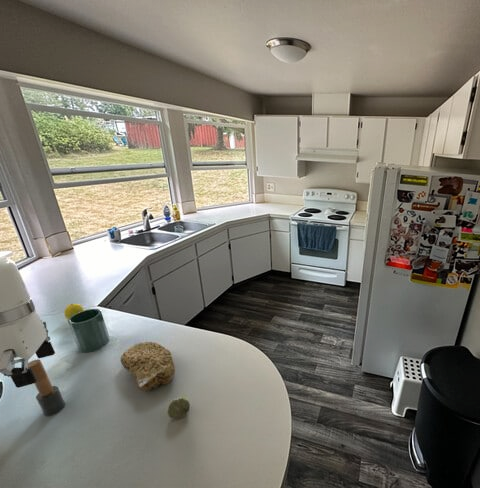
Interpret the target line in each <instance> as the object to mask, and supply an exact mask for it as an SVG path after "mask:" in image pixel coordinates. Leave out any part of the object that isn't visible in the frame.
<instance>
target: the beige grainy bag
mask: <svg viewBox="0 0 480 488" xmlns="http://www.w3.org/2000/svg"><path fill="white" fill-rule="evenodd" d="M120 363H121V366H122V367H123V368H124V369H125V370H126V371H127V372H129V373H130V374H131V375H133V377H135V382H136V386H137V388H139V390H140V391H146V392H147V391H150V390H151V389H155V388H157V387H160V385H165V384H166V385H167V384H170V383H171V381H172V380H173V377H174V375H175V373H176V365H175V363H174V359H173V356H172V353H171V350H169V349H167V348H165V346H163V345H161V344H160V343H158V342H153V341H144V342H138V343H135V344H134V345H131V346H130V347H129V348H128V349H126V350H125V351H124V352H123V353H122V355H120Z"/></svg>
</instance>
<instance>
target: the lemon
mask: <svg viewBox="0 0 480 488" xmlns="http://www.w3.org/2000/svg"><path fill="white" fill-rule="evenodd" d="M84 310H85V309H84V307H83V305H81V304H79V303H70V304H68V305H67V306H66V307H65V308H64V312H63V313H64V317H65V319H66V320H68V319H69V318H70V317H71V316H73V315H74V314H76V313H79V312H81V311H84Z"/></svg>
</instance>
